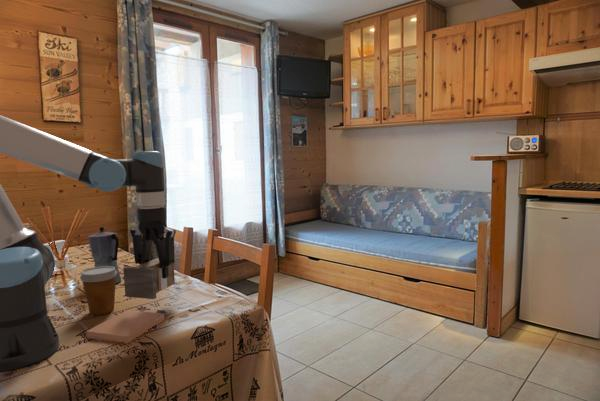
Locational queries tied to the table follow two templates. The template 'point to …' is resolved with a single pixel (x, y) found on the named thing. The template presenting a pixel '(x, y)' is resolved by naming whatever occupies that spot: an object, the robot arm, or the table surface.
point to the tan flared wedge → (145, 279)
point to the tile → (125, 326)
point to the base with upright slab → (59, 247)
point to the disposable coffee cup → (99, 288)
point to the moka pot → (105, 250)
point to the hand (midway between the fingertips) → (156, 288)
